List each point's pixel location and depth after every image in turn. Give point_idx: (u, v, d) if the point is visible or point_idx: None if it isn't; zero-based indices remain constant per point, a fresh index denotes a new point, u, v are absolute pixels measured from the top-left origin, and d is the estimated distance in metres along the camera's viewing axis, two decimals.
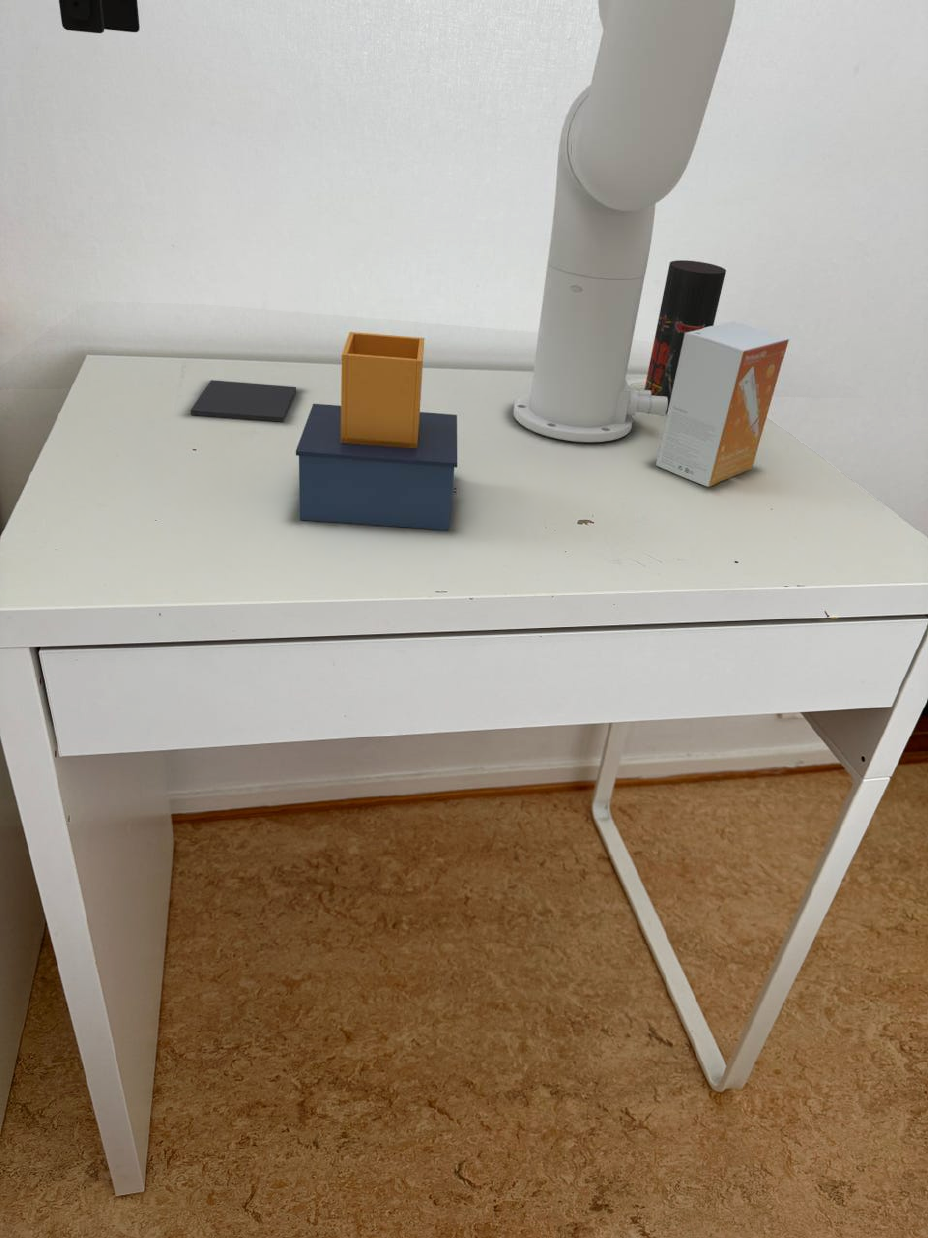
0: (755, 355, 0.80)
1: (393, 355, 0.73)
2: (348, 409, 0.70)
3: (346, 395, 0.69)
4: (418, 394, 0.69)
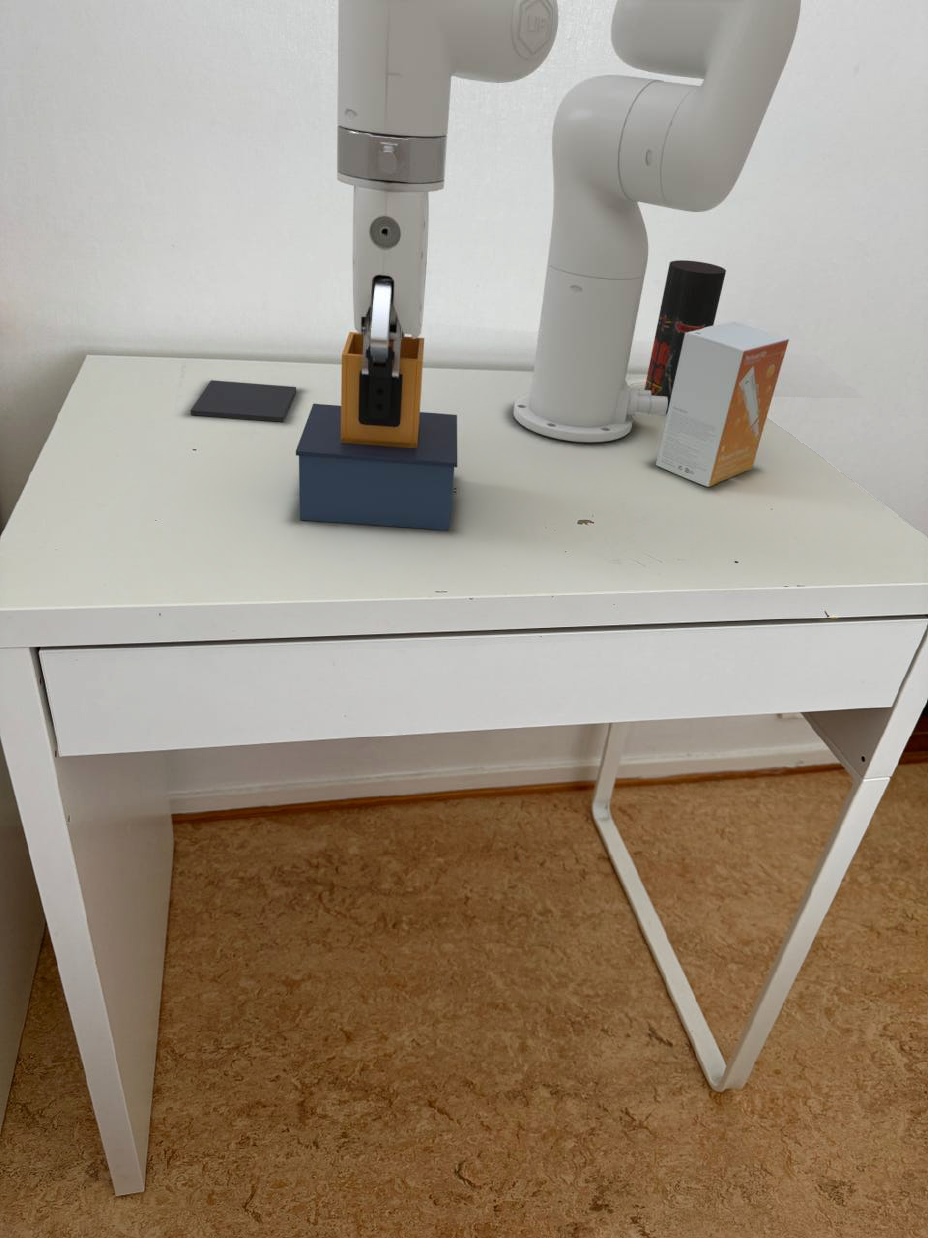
0: (755, 355, 0.80)
1: None
2: (348, 409, 0.70)
3: (346, 395, 0.69)
4: (418, 394, 0.69)
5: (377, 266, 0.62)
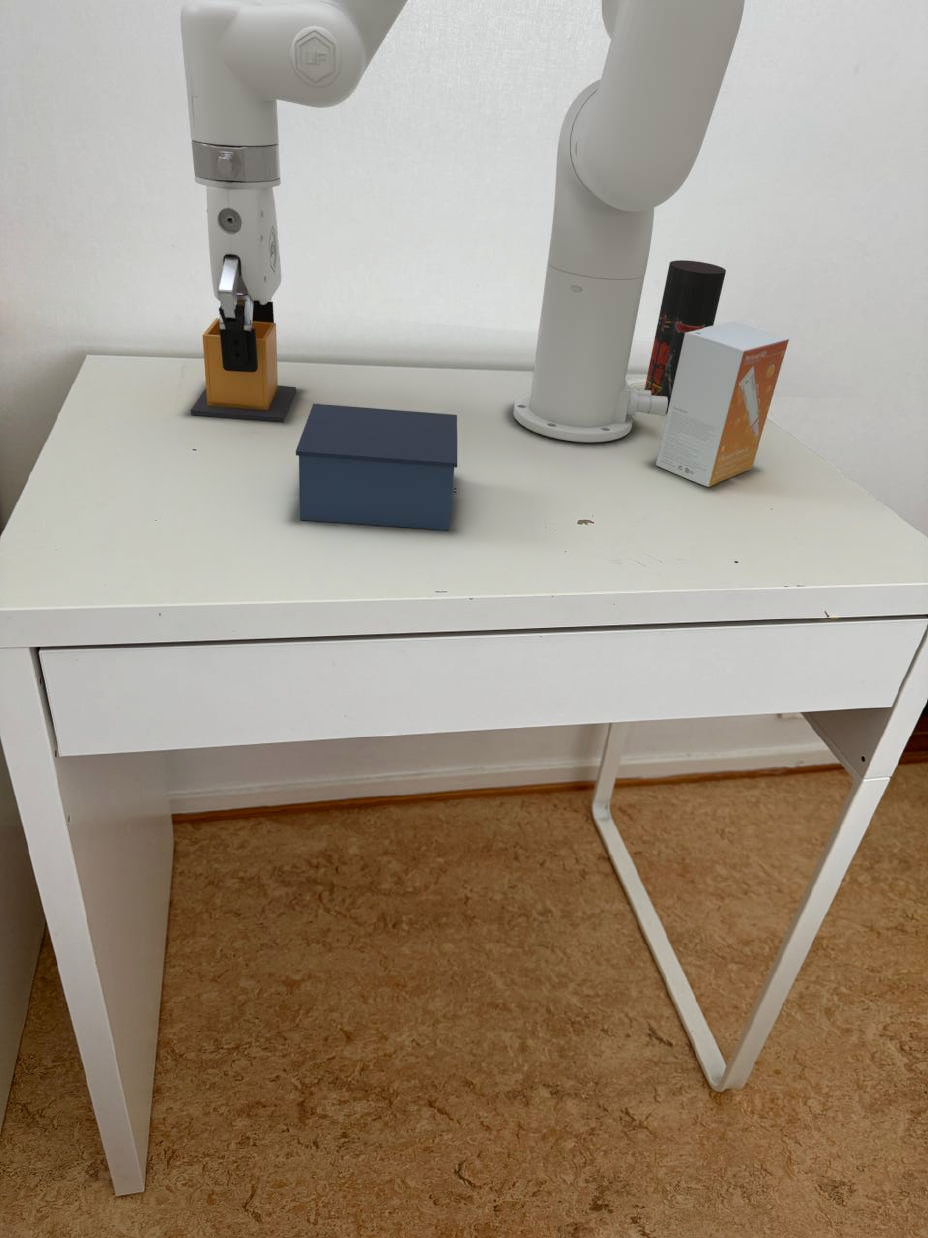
0: (755, 355, 0.80)
1: None
2: (211, 378, 0.89)
3: (208, 367, 0.88)
4: (265, 366, 0.88)
5: (226, 247, 0.81)
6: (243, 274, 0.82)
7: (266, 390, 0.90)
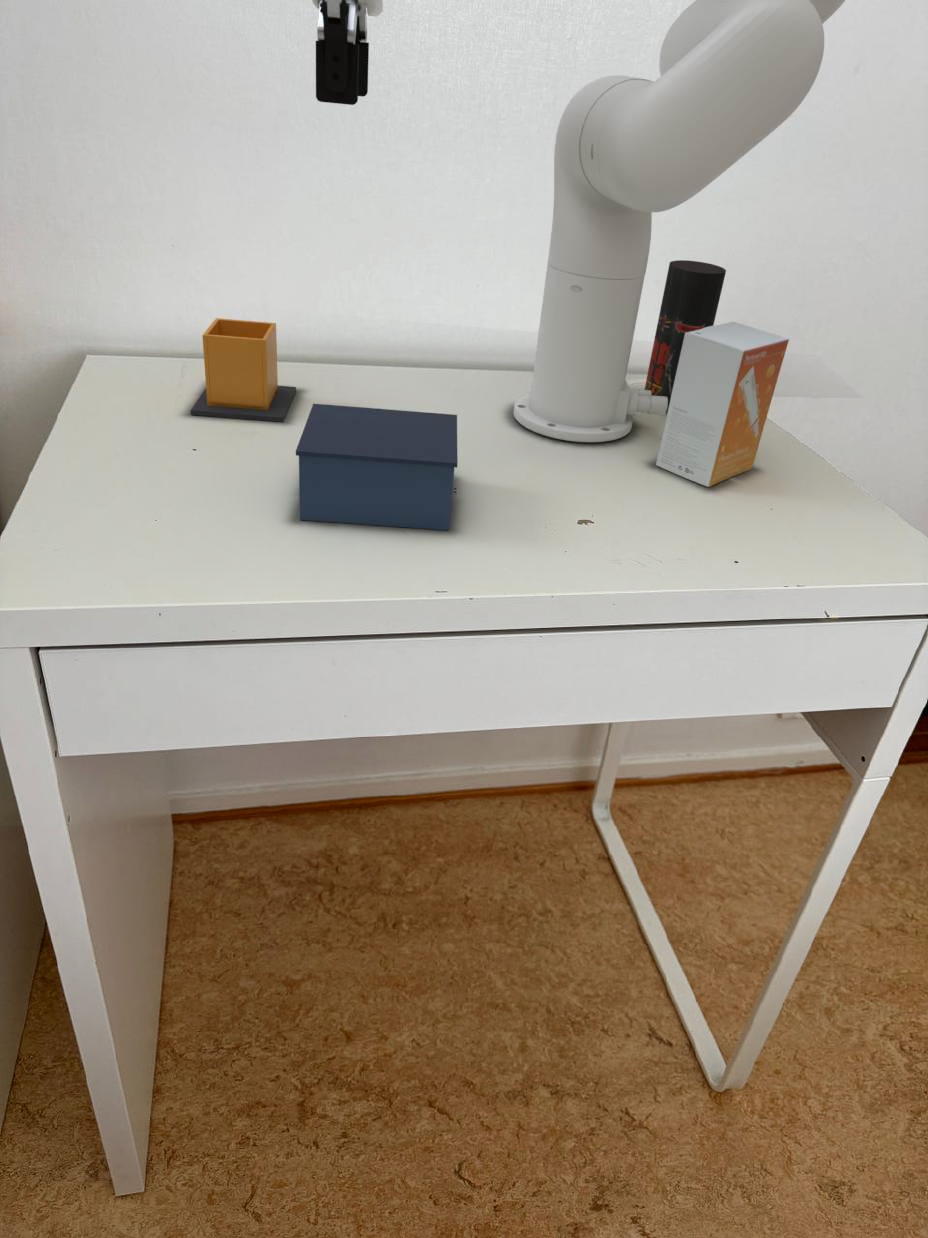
0: (755, 355, 0.80)
1: (252, 337, 0.92)
2: (211, 378, 0.89)
3: (208, 367, 0.88)
4: (265, 366, 0.88)
5: None
6: None
7: (266, 390, 0.90)
